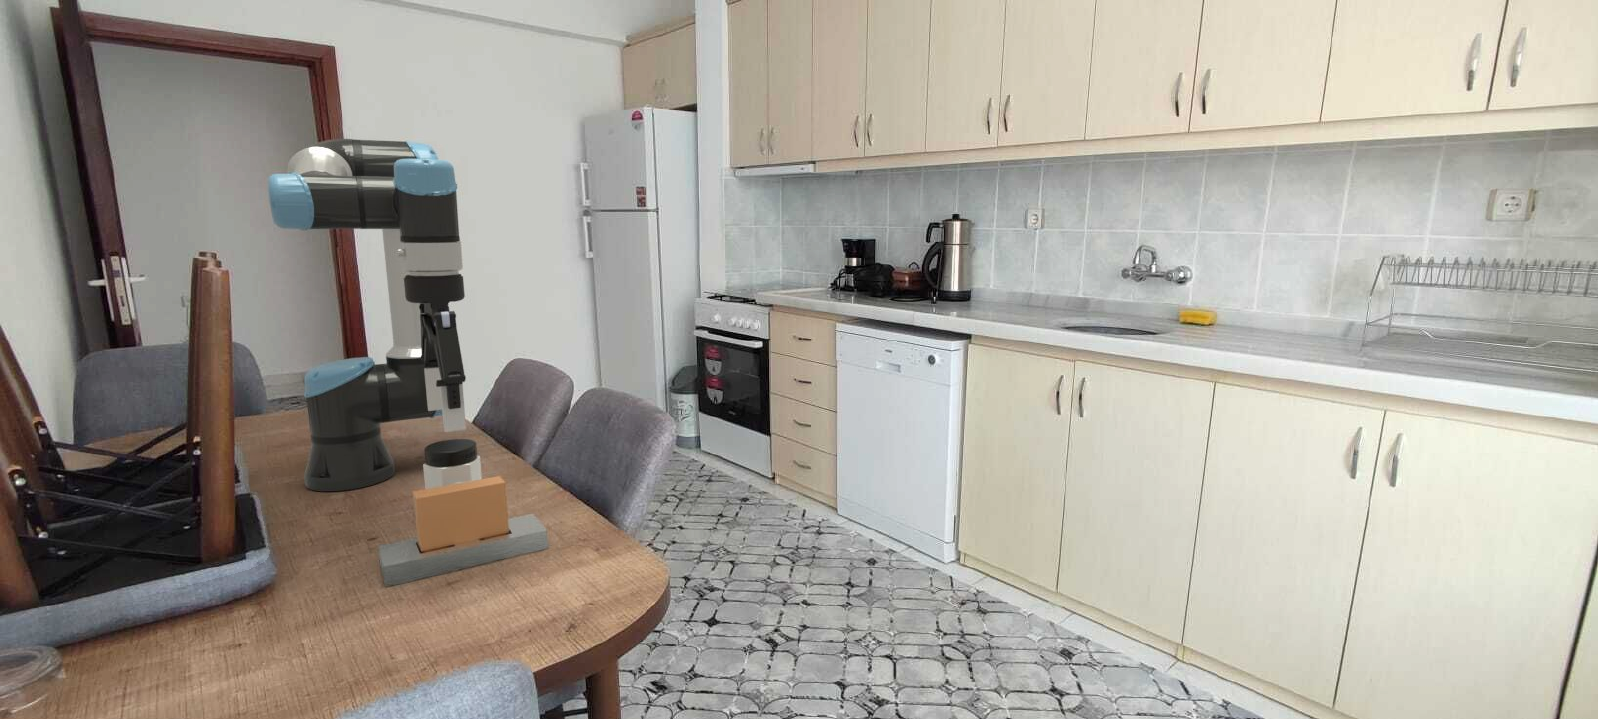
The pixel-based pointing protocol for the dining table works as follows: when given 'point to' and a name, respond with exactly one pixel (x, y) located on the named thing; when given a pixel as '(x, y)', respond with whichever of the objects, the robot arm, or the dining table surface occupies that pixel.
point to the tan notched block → (460, 513)
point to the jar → (451, 463)
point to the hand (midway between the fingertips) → (446, 419)
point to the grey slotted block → (460, 552)
